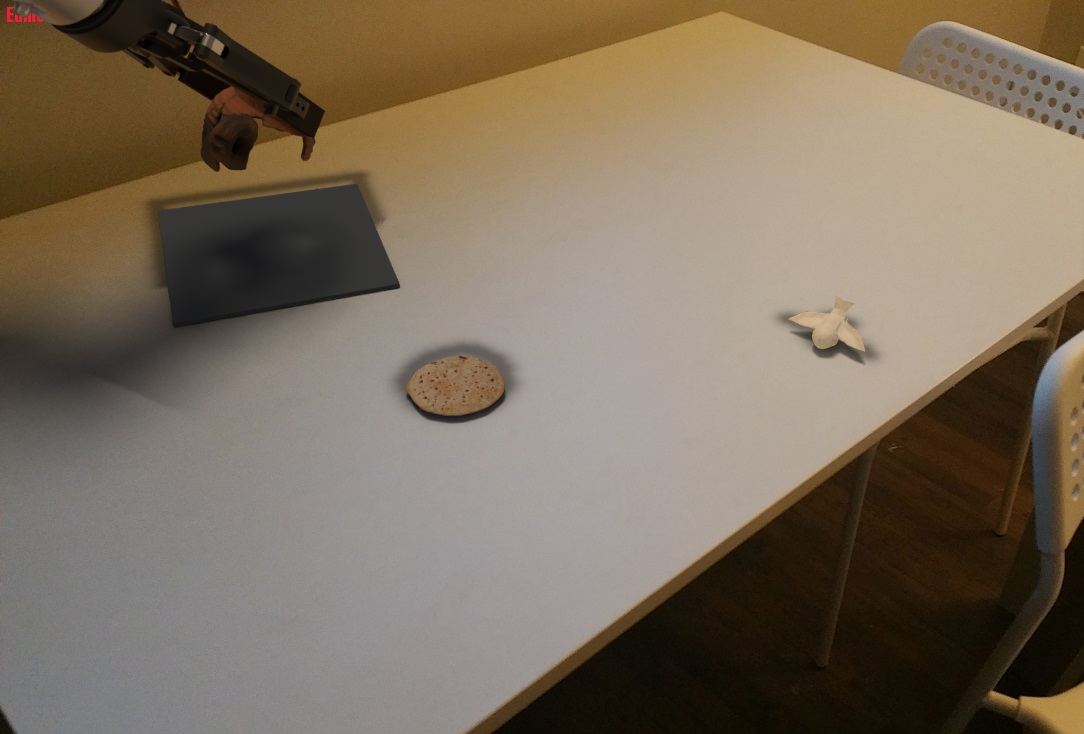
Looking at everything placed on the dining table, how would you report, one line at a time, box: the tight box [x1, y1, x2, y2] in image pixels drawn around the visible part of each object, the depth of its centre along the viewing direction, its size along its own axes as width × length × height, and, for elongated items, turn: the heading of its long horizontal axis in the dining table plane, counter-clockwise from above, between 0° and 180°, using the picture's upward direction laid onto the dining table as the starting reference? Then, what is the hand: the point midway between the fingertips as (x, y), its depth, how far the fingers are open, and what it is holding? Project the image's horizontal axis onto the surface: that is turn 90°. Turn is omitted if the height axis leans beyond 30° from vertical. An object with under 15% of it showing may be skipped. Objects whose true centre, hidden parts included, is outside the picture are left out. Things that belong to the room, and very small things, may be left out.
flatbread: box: [405, 354, 505, 417], centre depth 83 cm, size 8×8×1 cm
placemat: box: [157, 183, 401, 328], centre depth 97 cm, size 20×20×1 cm
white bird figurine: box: [788, 295, 866, 353], centre depth 92 cm, size 8×5×5 cm, turn 57°
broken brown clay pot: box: [200, 86, 316, 173], centre depth 89 cm, size 12×10×8 cm
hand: (275, 110), depth 91 cm, fingers closed on broken brown clay pot, 9 cm apart
